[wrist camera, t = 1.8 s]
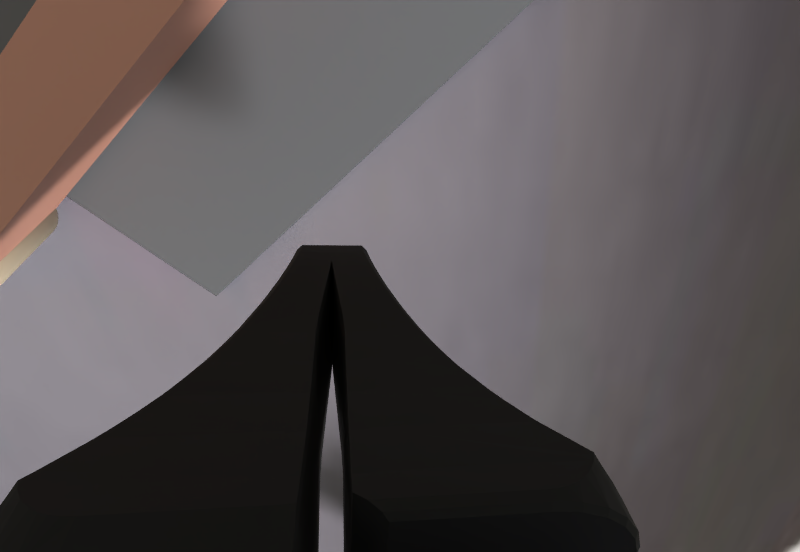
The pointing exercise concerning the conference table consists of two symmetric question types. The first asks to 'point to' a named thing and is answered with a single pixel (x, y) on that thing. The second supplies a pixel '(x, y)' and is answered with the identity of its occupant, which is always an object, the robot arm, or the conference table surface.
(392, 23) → the card
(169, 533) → the robot arm
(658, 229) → the conference table surface
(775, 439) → the conference table surface
